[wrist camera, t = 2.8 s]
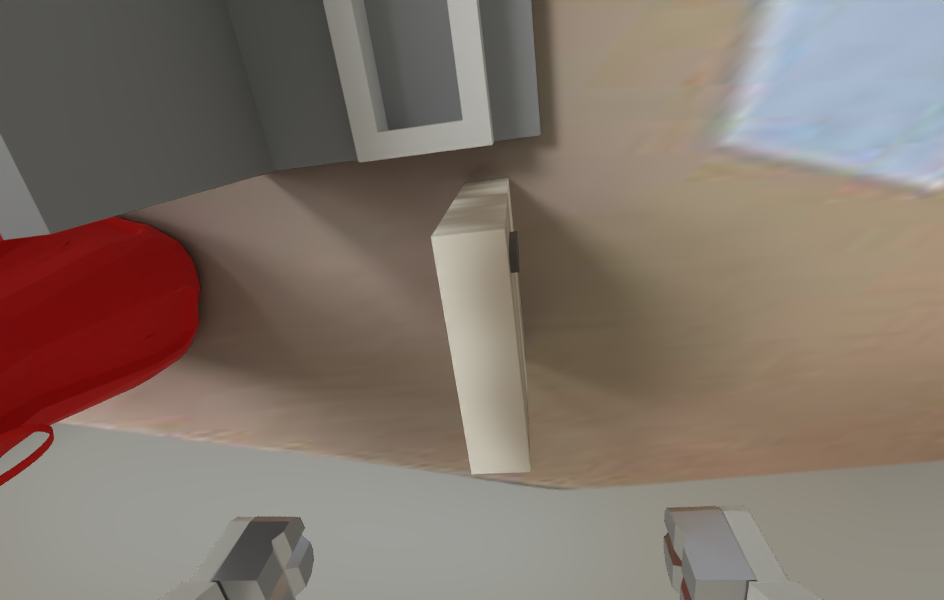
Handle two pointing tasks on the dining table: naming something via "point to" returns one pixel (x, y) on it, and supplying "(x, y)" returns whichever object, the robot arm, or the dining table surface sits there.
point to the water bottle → (87, 321)
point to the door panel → (485, 324)
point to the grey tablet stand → (241, 94)
